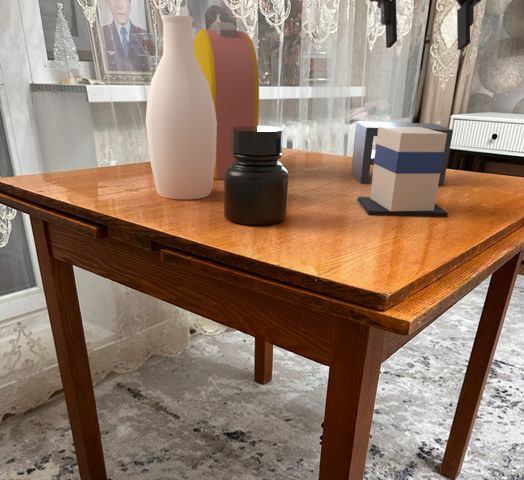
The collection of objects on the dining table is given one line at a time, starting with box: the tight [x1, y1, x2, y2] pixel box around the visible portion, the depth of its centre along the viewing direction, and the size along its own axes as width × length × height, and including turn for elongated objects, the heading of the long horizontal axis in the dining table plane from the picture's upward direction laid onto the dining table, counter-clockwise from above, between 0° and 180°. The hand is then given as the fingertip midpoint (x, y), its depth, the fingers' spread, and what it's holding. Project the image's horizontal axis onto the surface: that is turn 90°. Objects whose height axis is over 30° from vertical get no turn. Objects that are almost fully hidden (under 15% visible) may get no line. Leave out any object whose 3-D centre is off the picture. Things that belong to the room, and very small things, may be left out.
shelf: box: [350, 120, 454, 187], centre depth 107 cm, size 16×12×10 cm
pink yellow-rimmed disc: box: [193, 21, 260, 180], centre depth 107 cm, size 21×9×26 cm, turn 17°
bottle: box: [145, 14, 217, 201], centre depth 85 cm, size 11×11×25 cm
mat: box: [357, 196, 449, 218], centre depth 86 cm, size 12×10×1 cm
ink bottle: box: [223, 125, 289, 226], centre depth 75 cm, size 10×9×12 cm
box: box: [369, 127, 447, 211], centre depth 83 cm, size 7×9×11 cm
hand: (428, 45), depth 93 cm, fingers open, 13 cm apart
